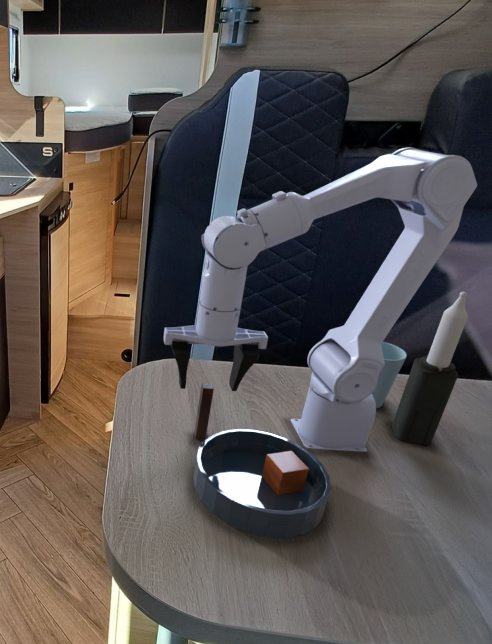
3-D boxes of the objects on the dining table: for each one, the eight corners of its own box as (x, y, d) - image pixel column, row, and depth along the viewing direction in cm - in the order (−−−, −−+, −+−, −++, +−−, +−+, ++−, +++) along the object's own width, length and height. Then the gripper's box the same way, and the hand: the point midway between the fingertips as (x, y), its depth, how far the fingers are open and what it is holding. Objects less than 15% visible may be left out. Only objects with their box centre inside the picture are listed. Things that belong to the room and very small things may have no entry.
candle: (424, 429, 86) (478, 288, 75) (432, 447, 82) (491, 300, 71) (390, 422, 88) (438, 283, 77) (396, 440, 83) (449, 295, 72)
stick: (203, 436, 84) (212, 383, 79) (205, 442, 82) (214, 388, 78) (193, 435, 84) (201, 382, 79) (194, 442, 82) (203, 388, 78)
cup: (358, 385, 99) (373, 336, 94) (398, 405, 93) (416, 353, 88) (333, 395, 95) (347, 345, 91) (372, 416, 89) (390, 364, 85)
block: (285, 472, 75) (291, 450, 73) (303, 491, 72) (309, 468, 70) (261, 476, 74) (266, 454, 73) (277, 495, 71) (283, 472, 69)
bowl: (298, 456, 79) (304, 432, 77) (343, 545, 64) (353, 518, 62) (185, 449, 80) (188, 426, 78) (203, 536, 65) (208, 509, 63)
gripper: (264, 295, 76) (249, 375, 82) (165, 292, 77) (157, 371, 83) (278, 314, 70) (260, 399, 76) (170, 310, 71) (161, 394, 77)
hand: (207, 386), depth 79 cm, fingers open, 7 cm apart
